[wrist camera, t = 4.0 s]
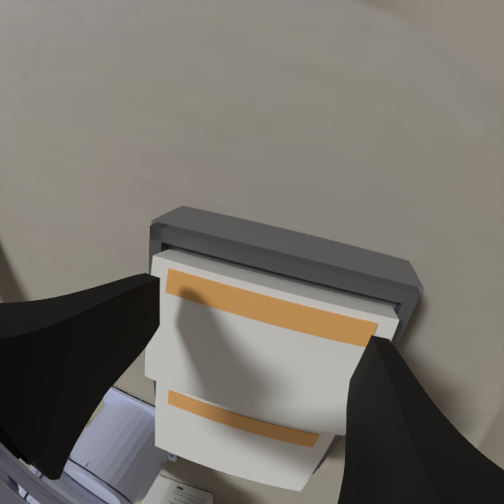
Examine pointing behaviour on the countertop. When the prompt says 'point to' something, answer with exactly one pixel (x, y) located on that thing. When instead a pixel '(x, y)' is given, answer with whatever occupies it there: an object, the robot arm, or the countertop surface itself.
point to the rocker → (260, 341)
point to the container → (175, 493)
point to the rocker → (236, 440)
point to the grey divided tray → (291, 261)
